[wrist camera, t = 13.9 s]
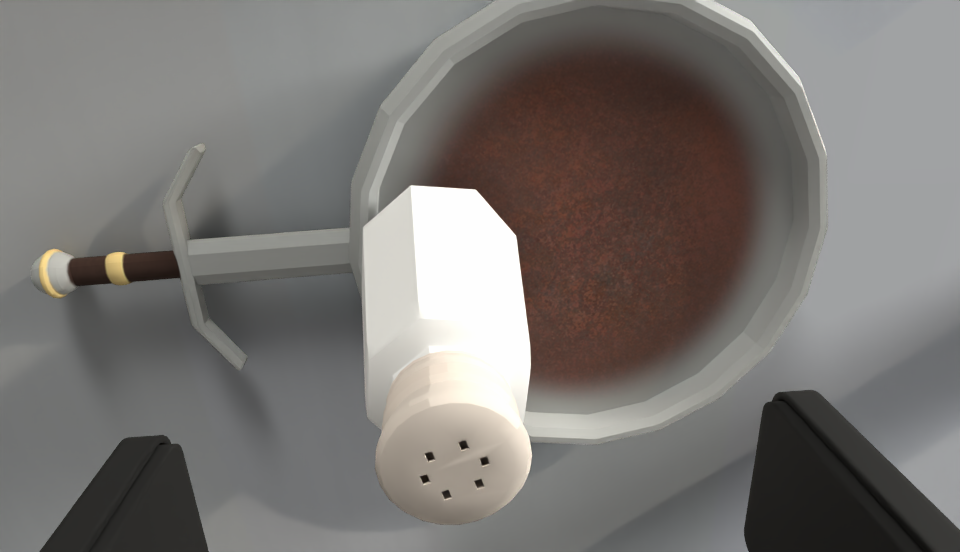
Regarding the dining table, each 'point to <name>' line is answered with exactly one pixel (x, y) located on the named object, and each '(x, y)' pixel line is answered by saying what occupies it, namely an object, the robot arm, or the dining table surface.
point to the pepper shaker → (445, 355)
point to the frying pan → (576, 201)
